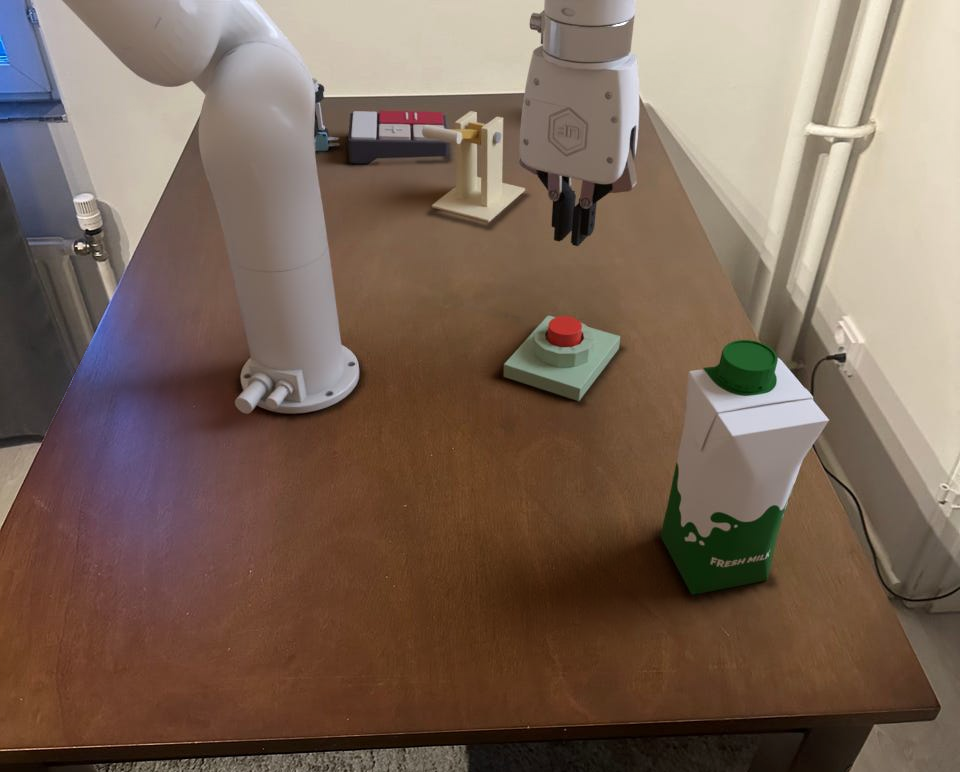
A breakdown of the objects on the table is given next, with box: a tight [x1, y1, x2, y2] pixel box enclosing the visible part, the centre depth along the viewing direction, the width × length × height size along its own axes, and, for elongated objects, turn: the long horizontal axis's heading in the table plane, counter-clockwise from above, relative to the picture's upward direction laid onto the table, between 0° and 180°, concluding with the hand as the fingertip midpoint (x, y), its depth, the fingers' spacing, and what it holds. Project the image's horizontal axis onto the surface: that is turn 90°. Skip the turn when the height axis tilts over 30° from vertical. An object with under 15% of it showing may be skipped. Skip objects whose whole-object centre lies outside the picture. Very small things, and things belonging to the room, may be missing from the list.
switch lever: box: [422, 121, 487, 146], centre depth 115 cm, size 12×5×2 cm, turn 151°
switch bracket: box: [431, 110, 526, 223], centre depth 122 cm, size 11×9×12 cm
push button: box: [312, 77, 340, 152], centre depth 136 cm, size 7×5×10 cm
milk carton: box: [660, 339, 830, 596], centre depth 71 cm, size 9×9×20 cm
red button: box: [548, 315, 582, 347], centre depth 96 cm, size 4×4×2 cm
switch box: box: [503, 315, 621, 402], centre depth 97 cm, size 11×9×4 cm
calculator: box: [347, 110, 449, 165], centre depth 138 cm, size 11×4×15 cm
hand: (572, 236), depth 88 cm, fingers closed
